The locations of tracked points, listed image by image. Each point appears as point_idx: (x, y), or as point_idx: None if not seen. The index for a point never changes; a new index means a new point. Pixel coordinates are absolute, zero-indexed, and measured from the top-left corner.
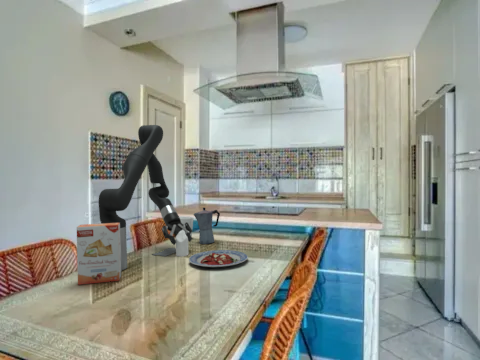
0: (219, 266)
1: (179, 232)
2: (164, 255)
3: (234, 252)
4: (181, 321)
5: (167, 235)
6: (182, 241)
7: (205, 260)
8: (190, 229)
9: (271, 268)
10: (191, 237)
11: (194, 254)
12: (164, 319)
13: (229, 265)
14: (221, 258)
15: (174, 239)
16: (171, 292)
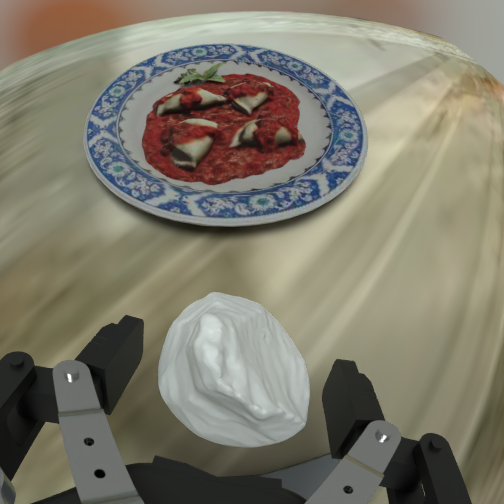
0: (314, 68)
1: (260, 400)
2: (335, 465)
3: (111, 104)
4: (469, 73)
5: (433, 435)
6: (275, 319)
7: (294, 125)
8: (5, 375)
9: (206, 23)
10: (101, 330)
11: (257, 219)
12: (485, 88)
13: (283, 55)
14: (243, 83)
15: (351, 380)
16: (469, 113)
